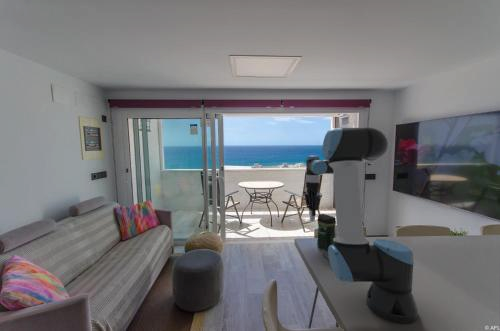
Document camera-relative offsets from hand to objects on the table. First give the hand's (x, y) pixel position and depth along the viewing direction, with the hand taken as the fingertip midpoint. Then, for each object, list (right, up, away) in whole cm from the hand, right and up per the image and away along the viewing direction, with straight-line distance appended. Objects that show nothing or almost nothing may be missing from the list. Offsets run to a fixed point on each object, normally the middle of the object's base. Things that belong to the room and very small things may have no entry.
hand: (312, 220), depth 136 cm
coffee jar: (+6, -13, -8) cm, 17 cm away
